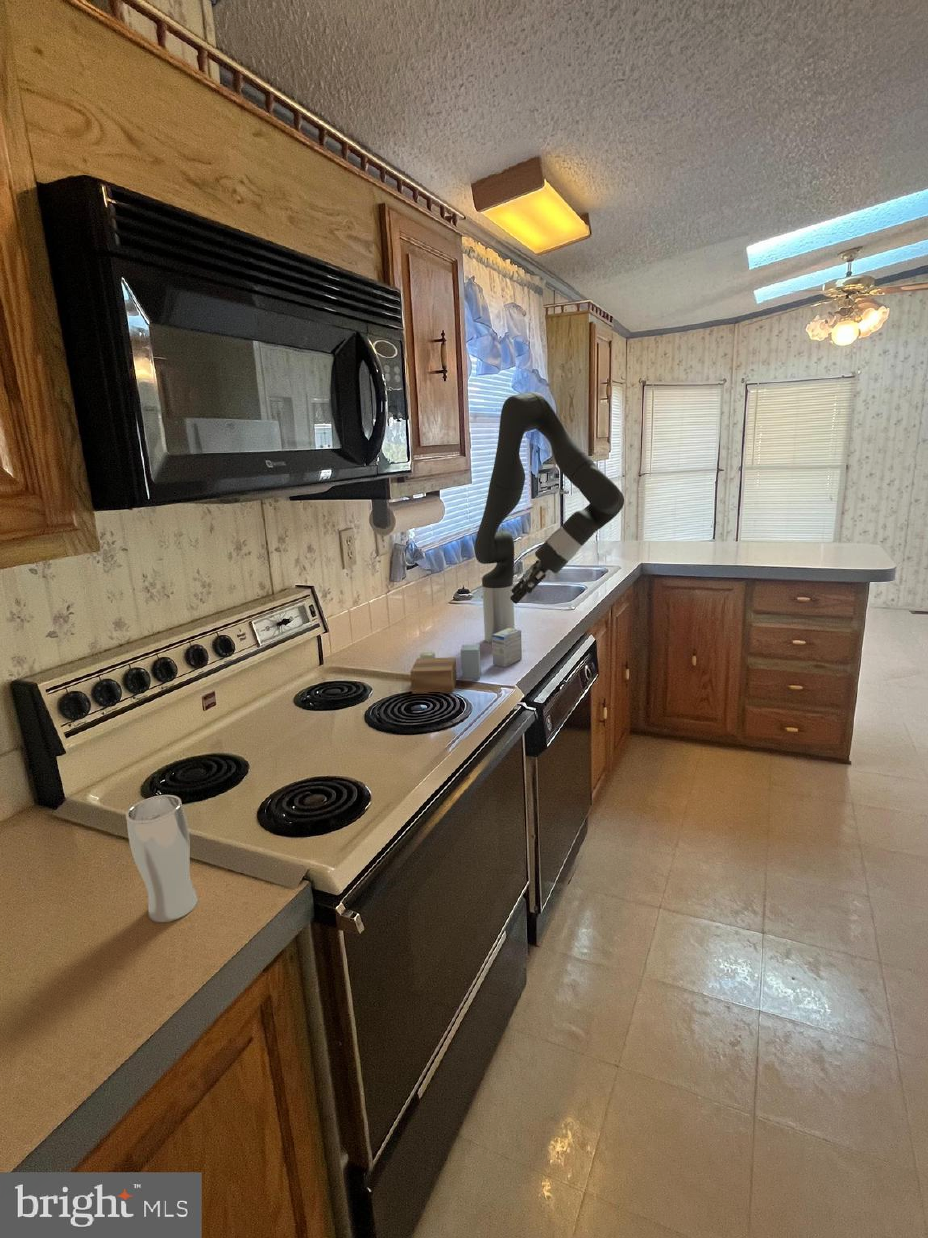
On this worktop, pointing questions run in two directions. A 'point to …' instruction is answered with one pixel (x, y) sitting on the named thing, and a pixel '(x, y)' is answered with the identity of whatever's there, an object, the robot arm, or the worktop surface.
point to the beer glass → (162, 855)
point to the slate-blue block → (470, 661)
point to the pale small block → (427, 655)
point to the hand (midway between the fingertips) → (513, 597)
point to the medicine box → (506, 647)
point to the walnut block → (433, 675)
